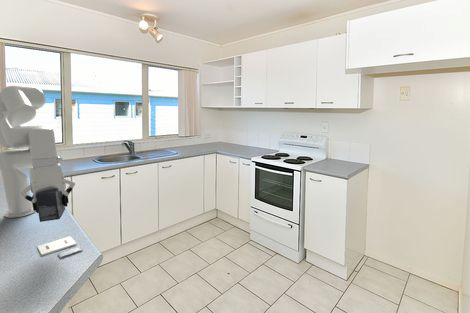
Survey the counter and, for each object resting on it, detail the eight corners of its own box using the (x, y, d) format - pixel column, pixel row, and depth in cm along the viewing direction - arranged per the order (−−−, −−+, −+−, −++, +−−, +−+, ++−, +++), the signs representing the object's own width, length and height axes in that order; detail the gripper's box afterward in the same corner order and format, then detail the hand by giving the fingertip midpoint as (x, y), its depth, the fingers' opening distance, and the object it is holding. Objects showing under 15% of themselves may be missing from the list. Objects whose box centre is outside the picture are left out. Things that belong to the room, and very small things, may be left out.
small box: (46, 211, 105) (42, 185, 103) (65, 209, 107) (62, 183, 105) (38, 222, 95) (34, 193, 93) (60, 219, 98) (56, 191, 96)
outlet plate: (37, 247, 103) (37, 245, 103) (70, 237, 110) (70, 236, 110) (41, 255, 97) (41, 254, 97) (76, 244, 105) (76, 243, 105)
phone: (57, 256, 98) (57, 253, 97) (79, 249, 103) (78, 246, 102) (60, 260, 95) (60, 257, 95) (82, 252, 100) (82, 249, 100)
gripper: (69, 157, 106) (75, 200, 109) (12, 164, 94) (20, 212, 97) (75, 160, 101) (80, 205, 104) (15, 168, 89) (24, 218, 92)
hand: (51, 208), depth 101 cm, fingers closed on small box, 8 cm apart
